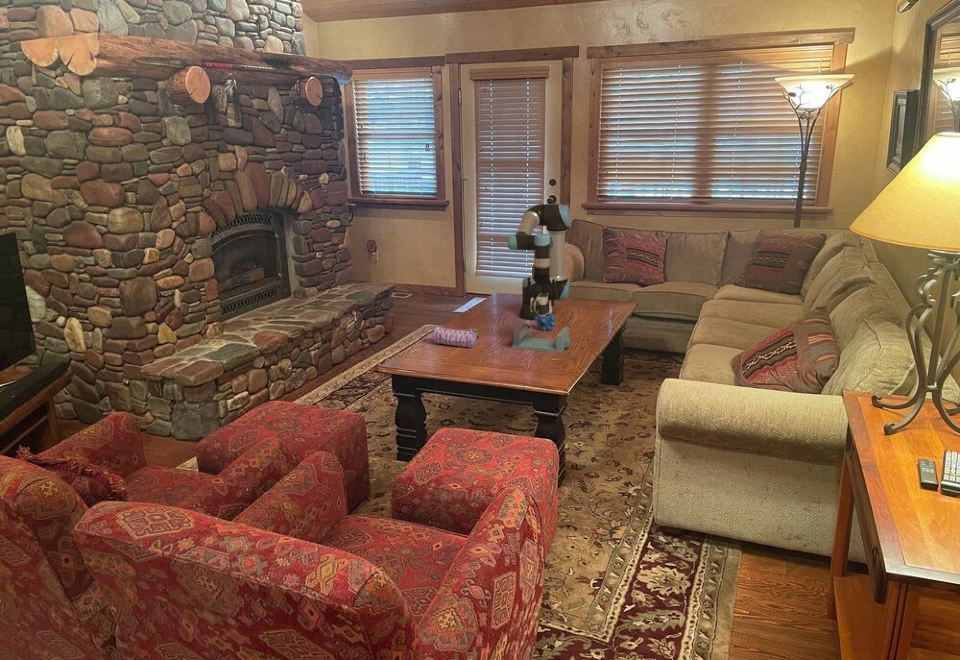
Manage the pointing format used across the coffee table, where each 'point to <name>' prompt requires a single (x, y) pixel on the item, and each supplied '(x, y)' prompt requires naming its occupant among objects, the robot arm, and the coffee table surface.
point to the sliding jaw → (521, 334)
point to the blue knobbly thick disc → (545, 321)
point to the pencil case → (455, 337)
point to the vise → (547, 343)
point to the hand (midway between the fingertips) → (541, 311)
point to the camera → (541, 304)
